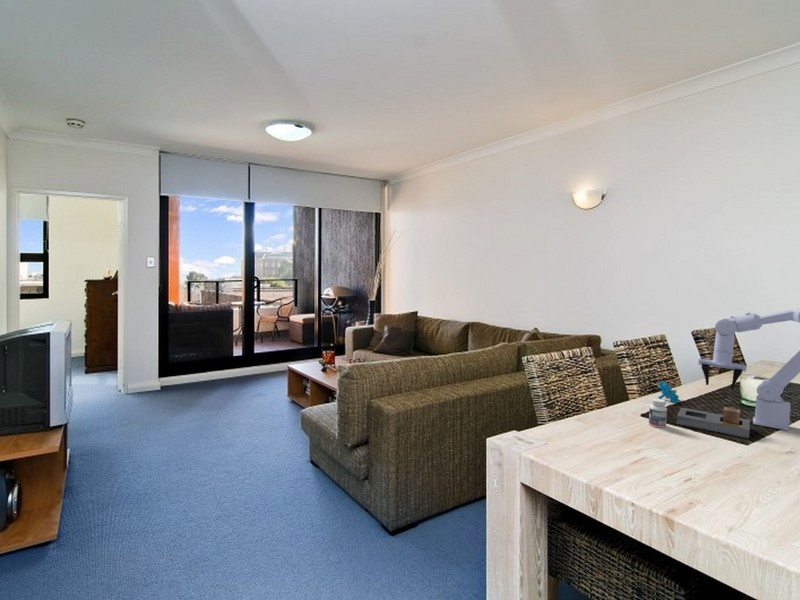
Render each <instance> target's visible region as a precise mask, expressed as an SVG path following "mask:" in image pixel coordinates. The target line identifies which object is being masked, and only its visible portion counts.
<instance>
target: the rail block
mask: <svg viewBox="0 0 800 600" xmlns="http://www.w3.org/2000/svg"><path fill="white" fill-rule="evenodd" d="M679 424H680V426H684V425H685V427H689V428H695V429H700V430H704V429H705V431H709V430H710V432H713V431H715V432H714V433H718V432H720V433H719V434H723V433H724V434H725V435H729V436H734V437H739V438H742V439H744V438H745V439H750V430H751V428H750V427H751V420H750V419H746V418H741V417H740V421H739V425H736V424H731V423H726V422H723V414H719V413H713V412H708V411H703V410H697V409H692V408H686V407H680V409H679V411H678V413H677V415H676V425H679Z"/></svg>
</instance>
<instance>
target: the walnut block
mask: <svg viewBox="0 0 800 600" xmlns="http://www.w3.org/2000/svg"><path fill="white" fill-rule="evenodd" d="M722 415H723V422H726V423H731V424H736V425H739V421H740V418H741V409H738V408H734V407H729V406H728V407H727V406H724V407H723V413H722Z"/></svg>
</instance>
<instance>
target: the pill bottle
mask: <svg viewBox="0 0 800 600" xmlns="http://www.w3.org/2000/svg"><path fill="white" fill-rule="evenodd" d="M666 403H667V402H666V400H665V399H662V398H661V399H658V398H652V399H651V404H650V406H649V413H648V424H649V425H650V426H651V427H655V428H659V427H660V429H661V428H663V427H664V428H666V427H667V415H668V408H667V407H666ZM664 428H663V429H664Z"/></svg>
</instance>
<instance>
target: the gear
mask: <svg viewBox="0 0 800 600" xmlns="http://www.w3.org/2000/svg"><path fill="white" fill-rule="evenodd" d="M657 384H658V389H660V392H661V395H659V396H657V399H662V398H664V397H665V399H669V401H670V402H671V403H674V404H678V403H679V402H680V399H679V398H680V397H679V395H678V394H677V390H676V389H673V387H672V385H668V383H667V382H666V381H665V382H664V381H662V380H661V381H660V382H658V383H657Z"/></svg>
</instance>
